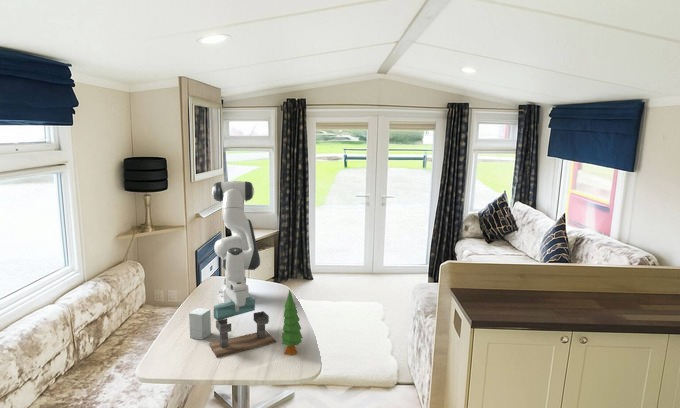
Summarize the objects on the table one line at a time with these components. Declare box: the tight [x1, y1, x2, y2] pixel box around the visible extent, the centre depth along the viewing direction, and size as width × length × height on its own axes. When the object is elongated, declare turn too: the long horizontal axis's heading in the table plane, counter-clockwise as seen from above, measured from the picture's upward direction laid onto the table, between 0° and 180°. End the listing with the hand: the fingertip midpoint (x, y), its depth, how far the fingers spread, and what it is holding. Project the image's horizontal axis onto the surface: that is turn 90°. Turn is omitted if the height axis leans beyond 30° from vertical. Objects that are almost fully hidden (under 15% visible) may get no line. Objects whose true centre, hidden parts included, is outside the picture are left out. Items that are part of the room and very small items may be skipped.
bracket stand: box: [208, 310, 276, 358], centre depth 194 cm, size 12×28×13 cm, turn 122°
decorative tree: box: [281, 289, 303, 356], centre depth 187 cm, size 10×9×30 cm
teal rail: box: [213, 296, 256, 321], centre depth 203 cm, size 4×20×6 cm, turn 132°
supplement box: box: [188, 307, 212, 341], centre depth 202 cm, size 7×7×13 cm
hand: (234, 308), depth 203 cm, fingers closed on teal rail, 4 cm apart
